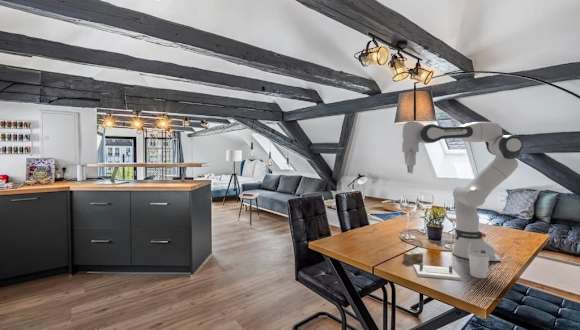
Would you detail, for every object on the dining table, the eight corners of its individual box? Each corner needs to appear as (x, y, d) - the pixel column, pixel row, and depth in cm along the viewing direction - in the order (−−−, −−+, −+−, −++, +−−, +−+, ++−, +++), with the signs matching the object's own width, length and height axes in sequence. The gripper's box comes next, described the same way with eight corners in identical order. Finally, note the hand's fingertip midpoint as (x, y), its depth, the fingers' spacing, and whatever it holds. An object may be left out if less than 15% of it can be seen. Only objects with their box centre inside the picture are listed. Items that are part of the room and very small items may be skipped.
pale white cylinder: (480, 272, 141) (481, 251, 141) (492, 279, 133) (493, 257, 133) (464, 272, 141) (465, 251, 140) (475, 279, 133) (476, 257, 133)
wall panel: (452, 270, 143) (452, 262, 143) (460, 280, 131) (460, 271, 131) (413, 266, 147) (413, 259, 147) (418, 276, 136) (418, 268, 135)
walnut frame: (417, 260, 157) (417, 251, 157) (422, 263, 153) (422, 253, 153) (403, 262, 154) (403, 252, 154) (408, 264, 151) (408, 254, 150)
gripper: (418, 148, 157) (418, 173, 157) (414, 149, 177) (413, 172, 177) (406, 148, 159) (405, 173, 159) (403, 149, 179) (402, 172, 179)
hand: (410, 172), depth 168 cm, fingers open, 8 cm apart
